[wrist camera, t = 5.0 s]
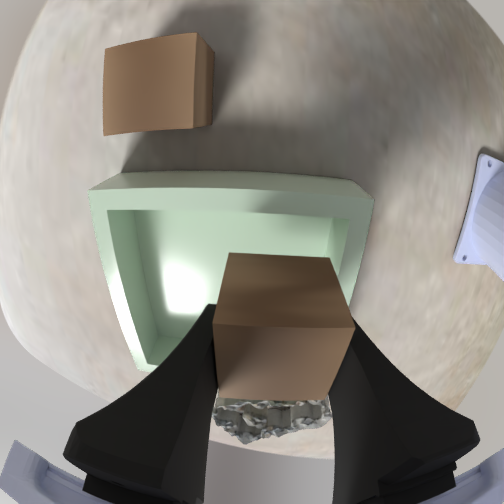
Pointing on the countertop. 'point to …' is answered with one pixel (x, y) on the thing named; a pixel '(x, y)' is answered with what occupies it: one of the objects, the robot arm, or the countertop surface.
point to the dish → (212, 240)
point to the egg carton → (268, 417)
